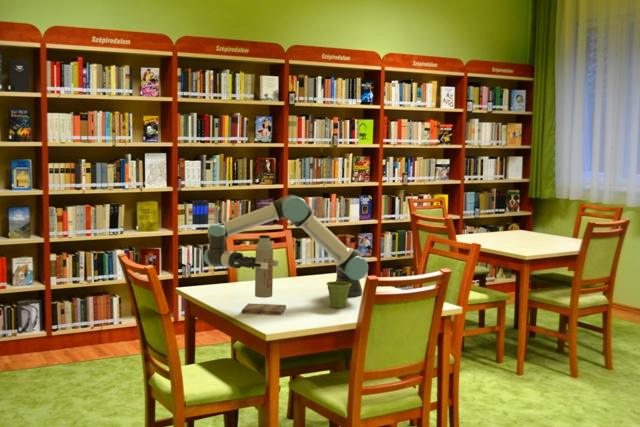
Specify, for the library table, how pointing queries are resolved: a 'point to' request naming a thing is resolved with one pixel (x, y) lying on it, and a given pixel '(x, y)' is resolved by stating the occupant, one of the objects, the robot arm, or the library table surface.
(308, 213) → the robot arm
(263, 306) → the walnut board
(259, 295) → the thermos bottle
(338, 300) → the plant pot
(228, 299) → the library table surface
